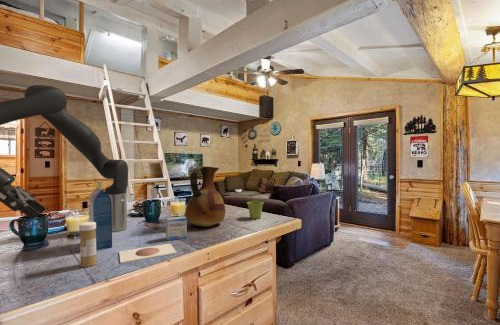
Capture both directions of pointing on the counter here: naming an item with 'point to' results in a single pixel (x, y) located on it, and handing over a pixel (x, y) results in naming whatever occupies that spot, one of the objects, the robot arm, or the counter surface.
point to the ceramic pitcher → (204, 199)
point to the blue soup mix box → (101, 217)
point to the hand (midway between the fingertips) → (40, 213)
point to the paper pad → (146, 253)
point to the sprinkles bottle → (88, 244)
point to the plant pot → (255, 209)
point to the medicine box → (176, 228)
